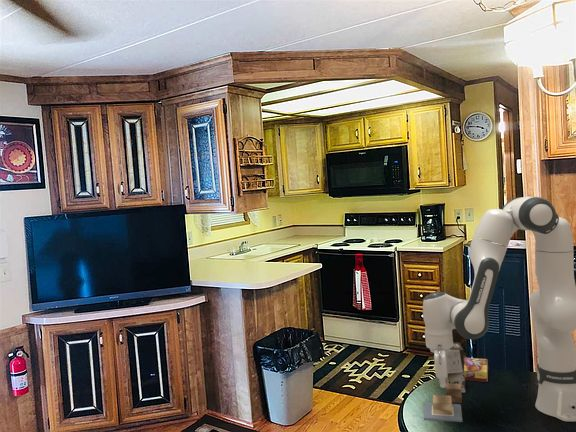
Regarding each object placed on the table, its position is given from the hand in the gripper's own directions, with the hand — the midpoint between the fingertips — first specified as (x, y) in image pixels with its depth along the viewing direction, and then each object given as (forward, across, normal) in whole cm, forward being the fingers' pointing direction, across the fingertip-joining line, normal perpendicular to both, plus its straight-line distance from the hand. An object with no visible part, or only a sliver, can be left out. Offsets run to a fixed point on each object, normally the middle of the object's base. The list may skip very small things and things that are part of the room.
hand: (442, 381), depth 164 cm
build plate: (+11, 0, +1) cm, 11 cm away
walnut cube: (+11, +11, -3) cm, 16 cm away
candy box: (+9, +28, -11) cm, 32 cm away
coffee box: (+11, +22, -4) cm, 25 cm away
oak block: (+10, 0, +1) cm, 10 cm away
